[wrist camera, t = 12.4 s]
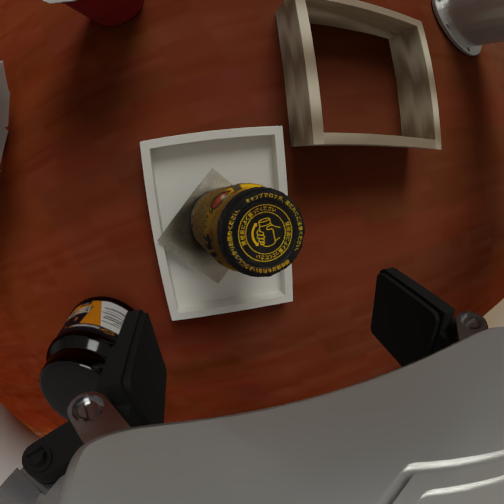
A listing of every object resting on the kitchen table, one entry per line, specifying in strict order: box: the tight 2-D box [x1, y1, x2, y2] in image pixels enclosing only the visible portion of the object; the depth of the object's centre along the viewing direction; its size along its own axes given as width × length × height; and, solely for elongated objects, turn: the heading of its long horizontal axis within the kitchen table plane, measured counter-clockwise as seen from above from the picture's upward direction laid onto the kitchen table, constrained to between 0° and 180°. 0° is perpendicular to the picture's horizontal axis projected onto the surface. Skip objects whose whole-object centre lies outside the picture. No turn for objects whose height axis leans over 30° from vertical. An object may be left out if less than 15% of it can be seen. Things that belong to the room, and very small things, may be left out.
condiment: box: [157, 168, 305, 283], centre depth 22 cm, size 7×8×12 cm
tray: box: [140, 126, 293, 321], centre depth 28 cm, size 18×13×2 cm
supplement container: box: [39, 296, 135, 421], centre depth 25 cm, size 10×10×12 cm
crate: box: [276, 0, 441, 149], centre depth 24 cm, size 16×16×6 cm
